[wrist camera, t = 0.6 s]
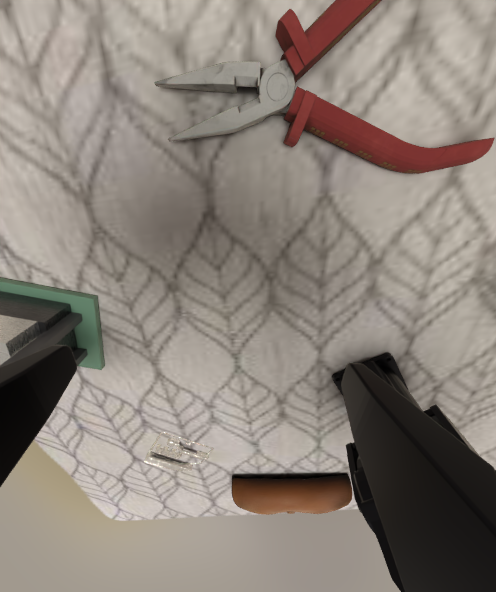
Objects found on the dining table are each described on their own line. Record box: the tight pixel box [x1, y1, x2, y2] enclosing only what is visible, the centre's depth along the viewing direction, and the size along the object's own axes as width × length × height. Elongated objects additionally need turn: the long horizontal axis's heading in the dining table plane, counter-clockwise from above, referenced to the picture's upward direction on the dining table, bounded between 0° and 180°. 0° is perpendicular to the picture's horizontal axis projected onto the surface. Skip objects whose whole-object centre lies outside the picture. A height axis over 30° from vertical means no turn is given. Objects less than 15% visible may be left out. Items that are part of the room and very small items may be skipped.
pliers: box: [155, 0, 494, 174], centre depth 13 cm, size 11×20×3 cm, turn 98°
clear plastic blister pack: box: [144, 432, 214, 471], centre depth 33 cm, size 8×7×2 cm
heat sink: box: [0, 291, 78, 365], centre depth 20 cm, size 8×7×6 cm
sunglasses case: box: [232, 474, 352, 514], centre depth 36 cm, size 18×7×7 cm
